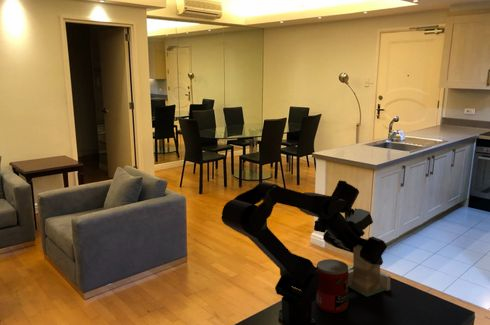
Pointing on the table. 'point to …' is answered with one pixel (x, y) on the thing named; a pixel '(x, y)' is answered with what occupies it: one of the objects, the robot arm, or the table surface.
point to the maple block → (365, 273)
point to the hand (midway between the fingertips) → (368, 257)
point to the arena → (383, 286)
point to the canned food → (332, 285)
